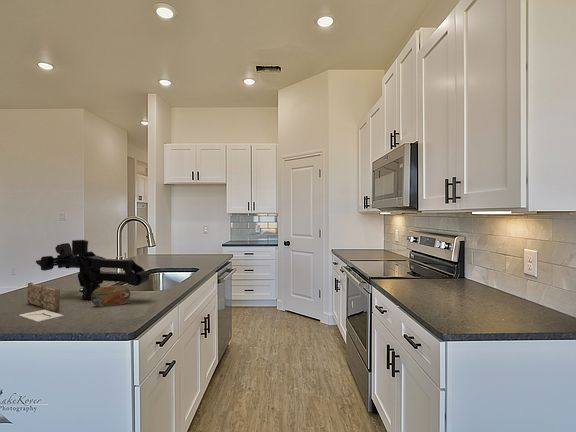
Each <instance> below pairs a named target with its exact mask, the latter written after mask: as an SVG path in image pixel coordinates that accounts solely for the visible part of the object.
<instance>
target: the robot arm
mask: <svg viewBox="0 0 576 432" xmlns="http://www.w3.org/2000/svg"><path fill="white" fill-rule="evenodd" d="M88 246H89V241H88V240H86V239H73V240H71V244H70V243H69V242H67V243H66V242H65V243H61V244H57V245H56V247H55V253H56V254H57V255H56V257H54V256H52V255H45V256H41V258H40V259H38V260H35V263H36V264H37V265H38V266H39V267H40V270H41V271H51V270H53V269H54V267H57V269H63V268H65V269H79V272H78V274H77V280H78V282H79V283H78V284H79V286H80V287H82V297H80V300H88V301H90V300H91V295H92V293H93V292H94V290H96V289H97V288H99V287H101V284H103V283H104V282H116V283H117V282H118V283H126V284H127V285H130V286H134V287H137V286H140V285H144V284H146V283H147V282H149V280H150V275H149V272H148V271H146V270H145V269H144V268H143V267H141V266H140V265H139V264H137V263H136V262H135V260H133V259H120V258H119V259H117V258H105V257H103V256H100V255H96V254H95V253H94V252H93V251H88ZM101 268H103V269H104V268H105V269H123V271H124V272H118V271H117V272H114V271H102V270H101Z"/></svg>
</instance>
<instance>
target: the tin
mask: <svg viewBox="0 0 576 432" xmlns="http://www.w3.org/2000/svg"><path fill="white" fill-rule="evenodd" d="M130 298H131V291H130V289H129V288H128V287H127V286H126V285H121V284H120V285H107V286H100V287H99V288H97V289H96V290H94V292H93V293H92V295H91V302H92V305H94V306H95V307H99V308H102V307H110V306H111V307H113V306H121V305H124V304H126V303H127V302H128V301H129V300H130Z"/></svg>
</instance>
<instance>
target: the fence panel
mask: <svg viewBox="0 0 576 432" xmlns="http://www.w3.org/2000/svg"><path fill="white" fill-rule="evenodd" d="M41 286H42V285H38V284H34V283H33V282H28V283H27V304H32V305H35V306H38V307H41Z"/></svg>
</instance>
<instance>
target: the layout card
mask: <svg viewBox="0 0 576 432" xmlns="http://www.w3.org/2000/svg"><path fill="white" fill-rule="evenodd" d="M18 316H20V317H22V318H25V319H28V320H30V321H34V322H37V323H38V322H39V323H40V322H43V321H47V320H51V319H57V318H60V317H64V314H61V313H59V312H55V311H51V310H48V309H41V310H36V311H31V312H27V313H22V314H21V313H20V314H19V315H18Z"/></svg>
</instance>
